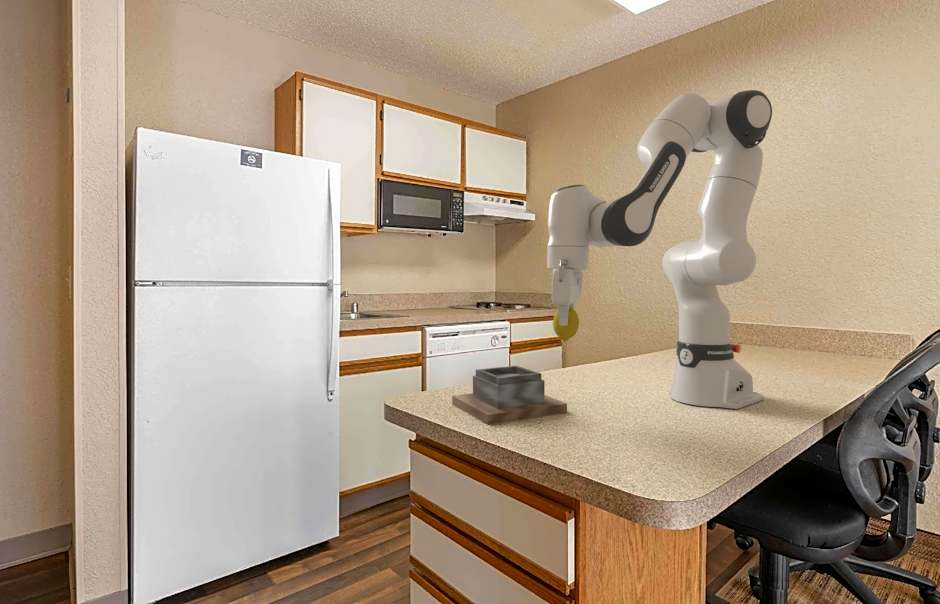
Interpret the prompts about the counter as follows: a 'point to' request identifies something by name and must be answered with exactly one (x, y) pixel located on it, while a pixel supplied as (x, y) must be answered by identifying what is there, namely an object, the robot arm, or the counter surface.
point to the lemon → (571, 328)
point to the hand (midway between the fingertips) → (566, 324)
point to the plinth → (507, 412)
